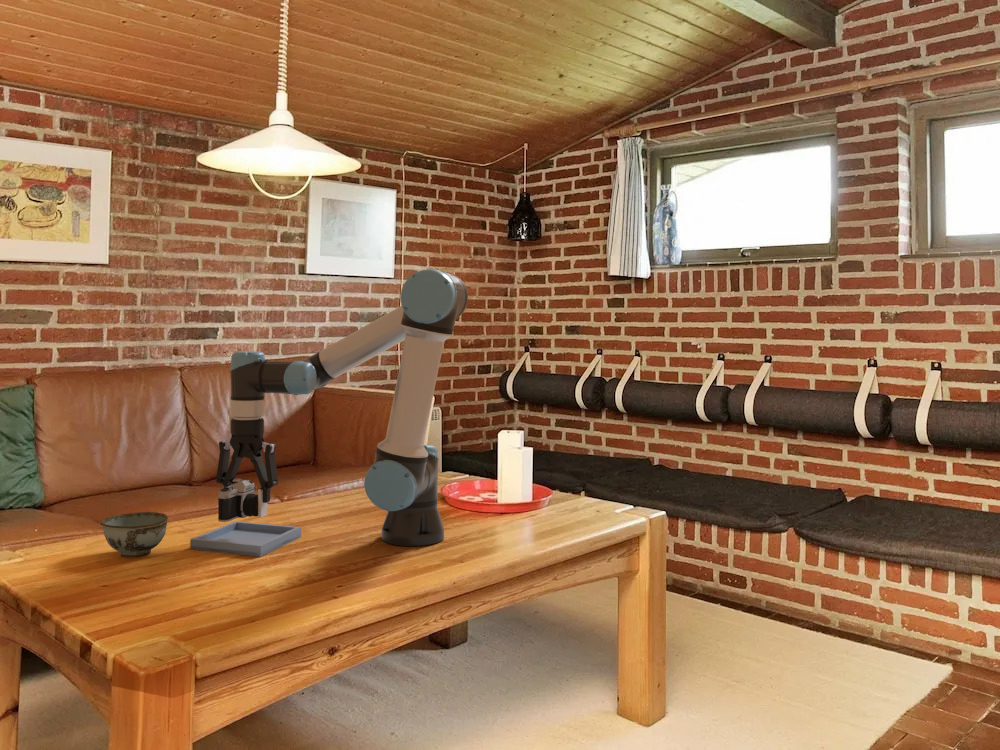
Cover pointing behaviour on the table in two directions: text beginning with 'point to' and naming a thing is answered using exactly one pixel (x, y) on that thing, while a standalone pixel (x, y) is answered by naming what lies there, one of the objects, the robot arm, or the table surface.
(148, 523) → the bowl
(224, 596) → the table surface
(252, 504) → the camera
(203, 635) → the table surface
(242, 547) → the tray
